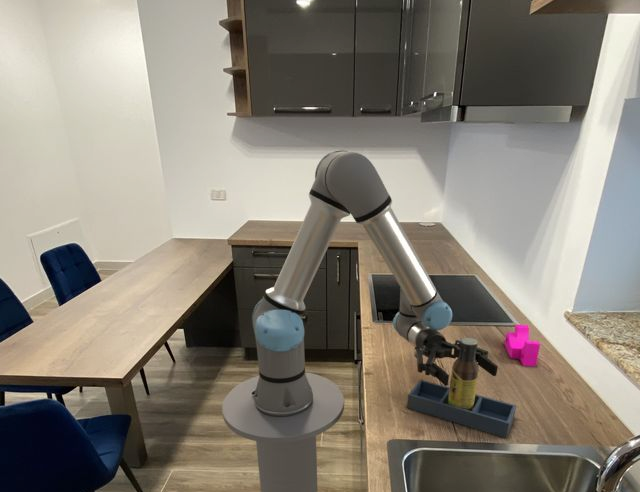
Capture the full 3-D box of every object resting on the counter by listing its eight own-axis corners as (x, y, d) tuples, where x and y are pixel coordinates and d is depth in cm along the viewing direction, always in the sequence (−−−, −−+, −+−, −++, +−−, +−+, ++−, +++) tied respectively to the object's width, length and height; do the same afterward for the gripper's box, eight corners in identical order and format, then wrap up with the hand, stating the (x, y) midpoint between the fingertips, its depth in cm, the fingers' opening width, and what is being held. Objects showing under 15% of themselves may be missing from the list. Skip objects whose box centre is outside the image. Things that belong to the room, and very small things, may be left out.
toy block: (504, 344, 151) (507, 324, 148) (523, 345, 150) (527, 325, 147) (514, 365, 137) (518, 343, 134) (535, 366, 136) (540, 344, 133)
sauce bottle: (447, 402, 117) (455, 333, 108) (472, 405, 115) (482, 335, 107) (446, 415, 111) (455, 344, 103) (472, 419, 109) (483, 347, 101)
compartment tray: (407, 407, 116) (408, 394, 114) (419, 392, 123) (420, 379, 121) (506, 438, 104) (509, 423, 102) (513, 419, 111) (516, 405, 109)
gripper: (463, 346, 129) (512, 380, 111) (385, 358, 122) (424, 398, 103) (467, 322, 126) (517, 353, 108) (387, 334, 118) (426, 370, 100)
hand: (472, 375), depth 105 cm, fingers open, 13 cm apart
